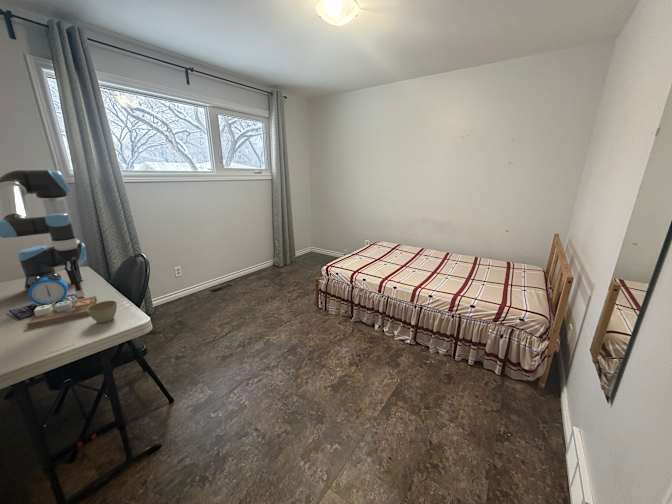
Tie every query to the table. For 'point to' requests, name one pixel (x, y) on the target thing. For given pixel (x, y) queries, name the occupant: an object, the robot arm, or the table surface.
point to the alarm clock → (47, 289)
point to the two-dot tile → (63, 306)
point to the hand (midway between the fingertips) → (81, 295)
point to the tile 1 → (43, 310)
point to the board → (61, 314)
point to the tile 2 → (83, 303)
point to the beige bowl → (103, 311)
